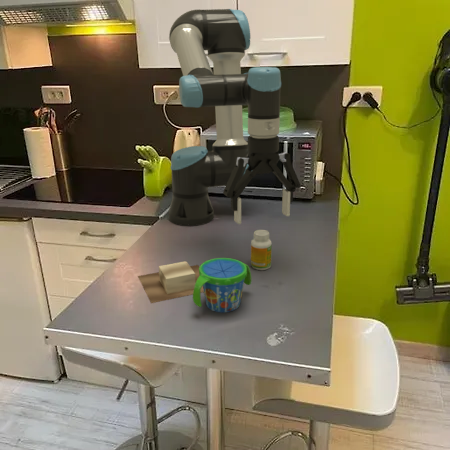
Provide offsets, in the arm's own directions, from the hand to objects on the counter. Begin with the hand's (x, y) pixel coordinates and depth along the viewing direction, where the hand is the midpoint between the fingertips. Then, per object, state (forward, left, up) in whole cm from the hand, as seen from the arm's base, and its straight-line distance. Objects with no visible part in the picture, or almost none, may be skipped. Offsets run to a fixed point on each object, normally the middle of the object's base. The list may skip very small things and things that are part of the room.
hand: (262, 218), depth 123 cm
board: (+2, -24, -14) cm, 28 cm away
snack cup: (+15, -17, -14) cm, 26 cm away
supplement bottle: (0, 0, -14) cm, 14 cm away
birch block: (+3, -24, -13) cm, 27 cm away
